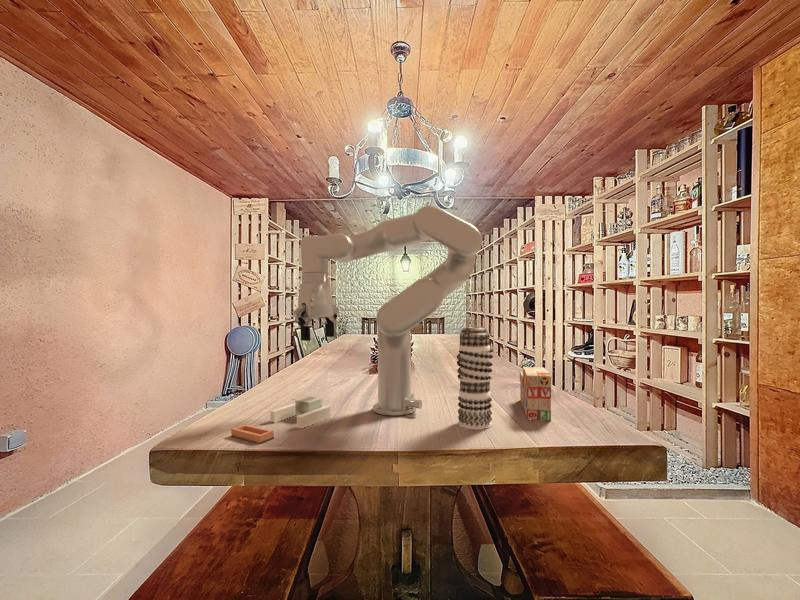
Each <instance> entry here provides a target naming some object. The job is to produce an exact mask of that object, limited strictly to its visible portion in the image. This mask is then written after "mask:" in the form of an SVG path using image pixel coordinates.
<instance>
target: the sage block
mask: <svg viewBox="0 0 800 600" xmlns="http://www.w3.org/2000/svg"><path fill="white" fill-rule="evenodd" d="M322 401H323V399H322V398H320V397H316V396H315V397H314V396H304V397H301V398H298V399H296V400H295V402H294V403H295V413H296V416H295V419H297V416H298V415H301V414H304V413H307V412H310V411H313V410H316V409H318V408H321V407H323V406H322V404H323V403H322Z"/></svg>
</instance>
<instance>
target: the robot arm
mask: <svg viewBox="0 0 800 600" xmlns="http://www.w3.org/2000/svg"><path fill="white" fill-rule="evenodd" d="M431 240H433V241H435V242H436V243H439V244H440V245H442V246H444V247H445V248H447V254H448V255H447V257H446V259H445V260H444V261H443V262H442V263H441V264H439V265H438V266H436V268H434V269H433V270H432V271H430V272H429V273H428V274H427V275H425V276H423V277H422V278H419V279H417V280H415V281H414V282H413V283H412V284H410V285H409V286H407V287H406V288H405V289H403V290H402V291H401V292H400V293H399V294H396V295H395V296H394V297H393V298H391V299H390V300H389V301H387V302H384V304H383V305H381V306H380V308H379V309H378V311H377V313H376V319H375V320H376V321H375V322H376V325H377V399H378V400H377V401H378V402H376V403H375V404H373V406H372V411H373V412H374V413H376V414H379V415H382V416H383V415H384V416H395V417H396V416H404V415H410V414H412V413H414V412H415V413H416V410H417V409H418V410H419V409H420V410H421V409H422V408H423V400H422V399H416V398H415V394H414V393H412V385H411V384H412V381H411V380H412V379H411V378H412V376H411V375H412V371H411V369H412V365H411V362H412V361H411V358H412V357H411V356H412V351H411V350H412V349H411V348H412V347H411V345H412V343H411V339H412V338H411V330H412V329H413V328H415V327H416V326H417V325H419V324H420V323H422V322H423V321H425V320H426V319H427V318H428V317H430V316H431V315H432V314H433V313H435V312H436V311H437V310H438V309H439V308H441V305H442V304H443V301H444V299H446V298H447V297H449V296H450V295H451V294H453V293H454V292H455V291H456V290H457V289H459V288H460V287H461V286H462V285H463V284H465V283H466V282H467V281H468V280H469V278H470V277H471V275H472V273H473V271H474V268H475V265H476V254H478V252H480V249H481V248H482V245H483V236H482V234H481V232H480V231H479V229H478V227H476V226H474V225H473V224H471V223H469V222H467V221H465V220H463V219H461V218H460V217H457V216H455V215H453V214H452V213H450V212H448V211H446V210H444V209H442V208H440V207H439V206H436V205H431V204H430V205H424V206H422V207H421V208H419V210H417V211H416V212H414V213H411V214H406V215H402V216H399V217H394V218H392V219H387V220H384V221H382V222H380V223H379V224H377V225H376V226H374V227H373V228H371V229H369V230H367V231H364V232H361V233H358V234H353V235H346V234H345V233H333V234H329V235H307V236H303V237H302V238H301V239H300V260H301V261H300V262H301V279H302V280H301V281H302V284H300V286H299V291H298V301H297V302H298V305H297V308H295V309H294V310H293V311H292V314H293V315H292V316H293V317H294V321H295V322H296V324H297V326H298V327H300V340H301V342H302V341H305V342H308V341H309V342H310V341H311V337H312V336H311V327H310V326H309V324H310V322H311V321H312V320H315V319H316V320H318V319H323V320H324V321H325V323H324V334H325V335H324V336H325V338H327V337H328V338H334V337H335V334H336V333H335V323H336V320H337V318H338V314H339V310H340V308H339V307H338V306H336V305H335V304H334V300H333V293H332V288H331V284H330V282H329V281H330V279H331V277H330V275H329V274H330V273H329V260H335V261H337V262H340V263H348V262H352V261H356V260H360V259H364V258H367V257H372V256H374V255H378V254H382V253H386V252H389V251H393V250H396V249H400V248H401V249H402V248H403V247H407V246H411V245H415V244H419V243H423V242H427V241H431Z"/></svg>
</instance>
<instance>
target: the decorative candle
mask: <svg viewBox="0 0 800 600" xmlns="http://www.w3.org/2000/svg"><path fill="white" fill-rule="evenodd" d="M490 334H491V333H490V332H488V330H487V328H486V327H484V326H465V327H462V329H461V331H460V332H458V335H459V344H458V354H457V355H456V358H457V359H456V360H457V361H456V364H457V365H456V366H458V369H457V373H458V374H457V378H458V380H459V387H460V388H459V391H458V393H459V396H458V397H457V400H458V403H457V405H458V407H459V408H458V410H457V412H458V416H457V418H458V423H457V424H458V425H459V426H460V427H461V428H464V429H467V430H474V429H481V430H484V429H483V428H487V429H489V428H488V427H490V426H491V424H492V422H491V421H493V418H492V416H491V415H493V412H492V410H491V408H492V407H493V405H492V404H491V402H492V401H493V399H492V397H491V389H490V388H491V387H490V382H491V381H492V378H493V377H492V376H491V375H490V373H492V372H493V369H492V368H491V367H492V366H493V362H490V360H492V358H494V355H492V352H493V351H494V349H492V348H491V345H490ZM491 427H492V426H491ZM491 427H490V428H491Z"/></svg>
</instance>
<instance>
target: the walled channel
mask: <svg viewBox="0 0 800 600" xmlns="http://www.w3.org/2000/svg"><path fill="white" fill-rule="evenodd" d="M269 414H270V417H269V418H270V423H272V422H274V423H273V424H276V423H278V421H279V422H282V421H285V420H287V419H286V418H288V419H290V418H289V417H291V418H293V417H292V416H294V417H296V416H295V415H296V413H295V402H294V403H292V404H288V405H284V406H281V407H278V408H275V409H272V410H270V413H269ZM330 418H331V406H328V405H324V406H322V407H321V408H318V409H316V410H313V411H310V412H307V413H304V414H301V415H298V416H297V418H296V428H297V429H300V428H301V429H300V430H302V428H303V429H304V427H305V428H307V426H308V427H310V426H313V425H316V424H319V423H320V422H322V421H325V419H326V420H327V419H330ZM284 419H285V420H284ZM281 420H282V421H281ZM275 422H276V423H275ZM312 424H313V425H312Z"/></svg>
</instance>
